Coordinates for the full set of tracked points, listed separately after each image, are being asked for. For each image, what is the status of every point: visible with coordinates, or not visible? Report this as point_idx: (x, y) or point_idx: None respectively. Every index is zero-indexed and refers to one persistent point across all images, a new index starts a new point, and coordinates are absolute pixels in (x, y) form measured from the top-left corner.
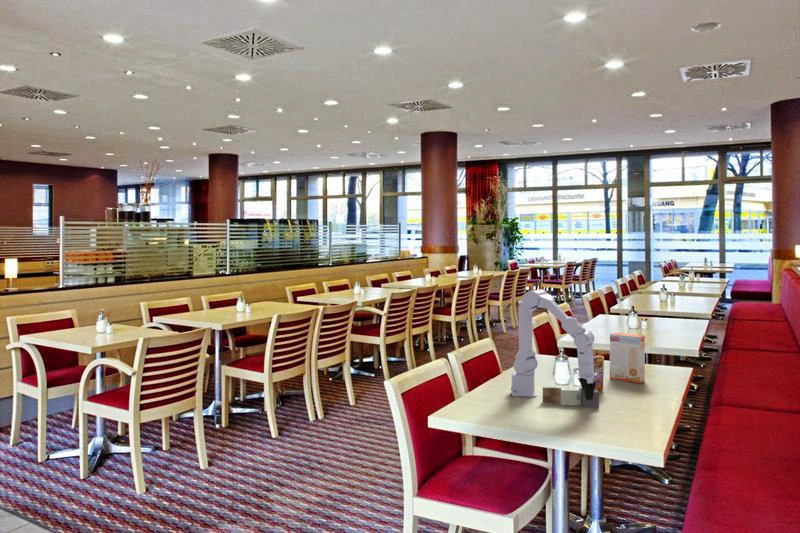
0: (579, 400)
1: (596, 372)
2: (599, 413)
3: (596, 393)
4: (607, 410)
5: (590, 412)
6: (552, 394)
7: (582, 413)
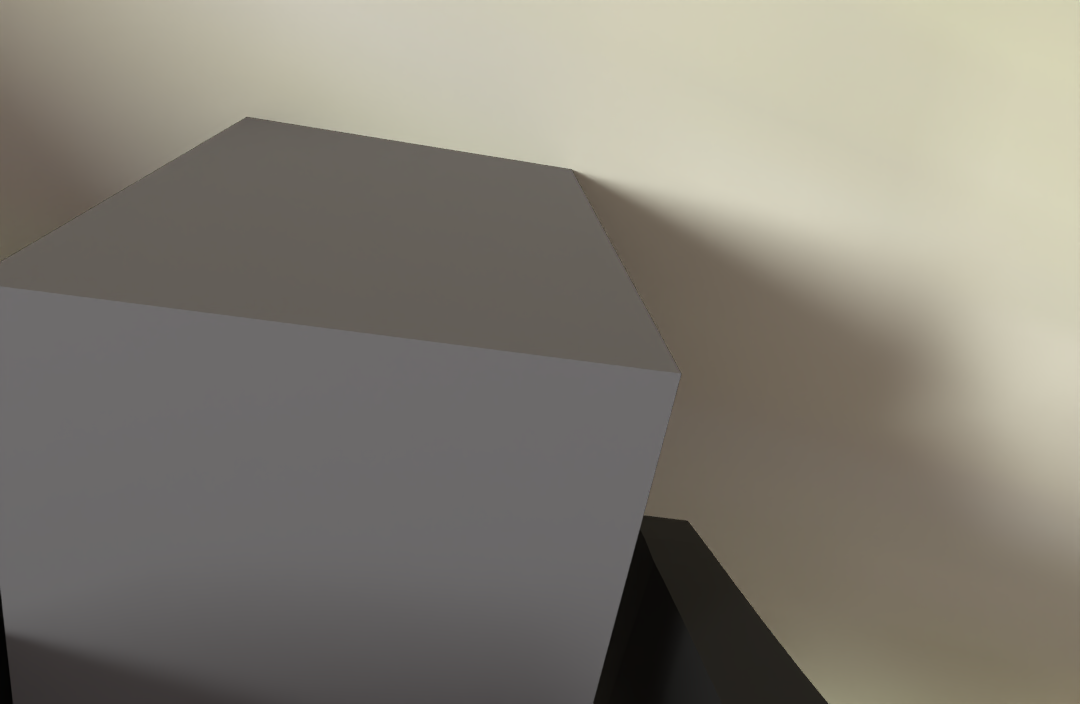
0: None
1: None
2: (1053, 335)
3: (635, 474)
4: (870, 8)
5: (920, 503)
6: None
7: (939, 660)
